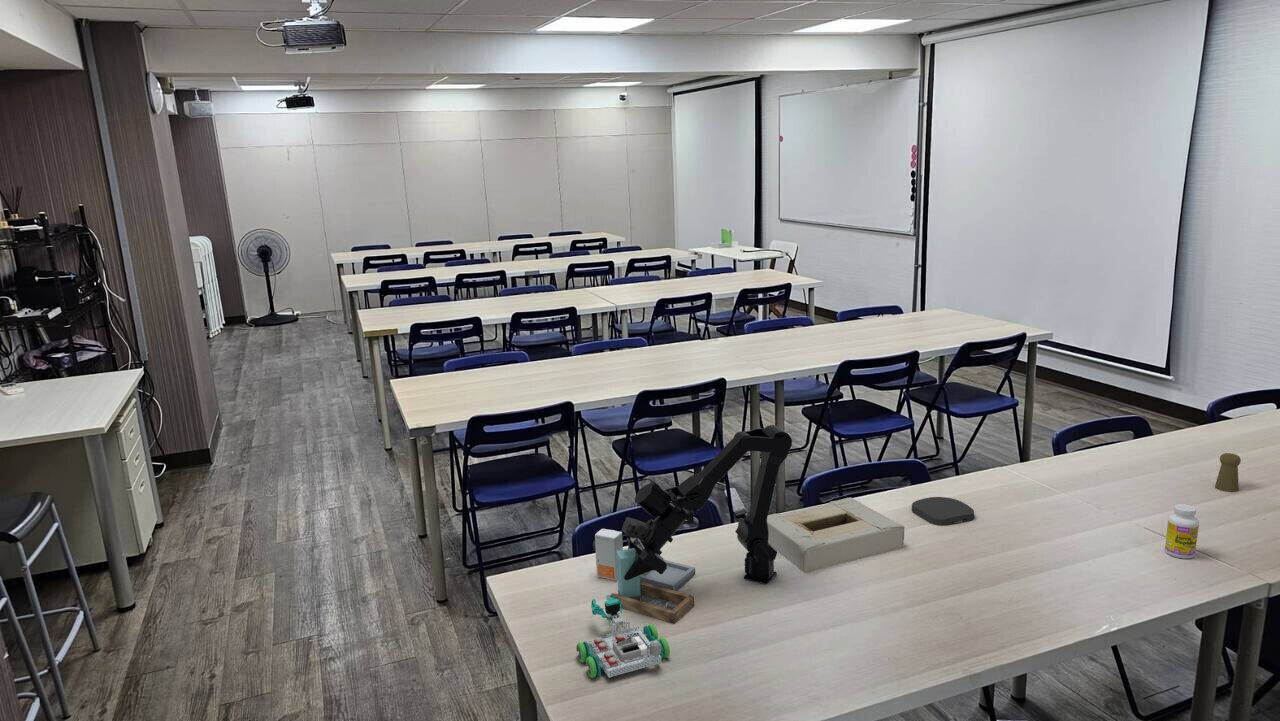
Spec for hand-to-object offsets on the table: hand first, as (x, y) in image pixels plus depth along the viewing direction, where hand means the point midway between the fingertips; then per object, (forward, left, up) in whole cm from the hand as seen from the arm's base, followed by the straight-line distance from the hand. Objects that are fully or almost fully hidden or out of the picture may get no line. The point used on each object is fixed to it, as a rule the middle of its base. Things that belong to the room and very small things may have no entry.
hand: (622, 574), depth 204 cm
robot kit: (-10, +18, -7) cm, 22 cm away
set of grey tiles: (-11, -1, -7) cm, 13 cm away
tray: (-3, -14, -7) cm, 16 cm away
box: (-32, -53, -7) cm, 63 cm away
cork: (-124, -147, -7) cm, 192 cm away
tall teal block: (-1, -1, -7) cm, 7 cm away
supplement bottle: (-113, -90, -7) cm, 144 cm away
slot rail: (-7, -1, -7) cm, 10 cm away
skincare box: (+10, -9, -7) cm, 15 cm away
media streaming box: (-54, -88, -7) cm, 103 cm away
